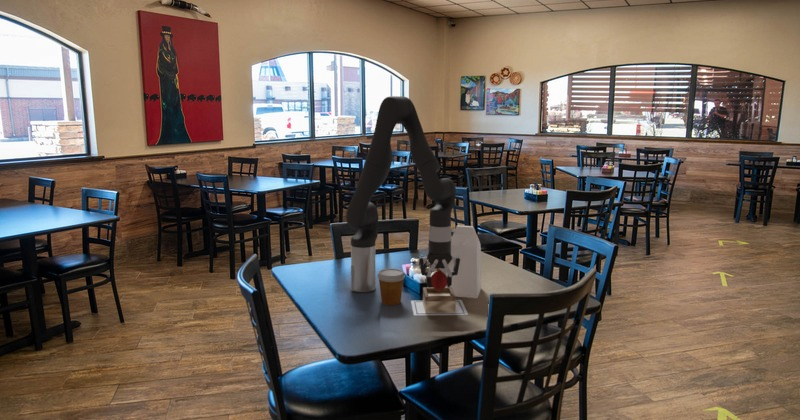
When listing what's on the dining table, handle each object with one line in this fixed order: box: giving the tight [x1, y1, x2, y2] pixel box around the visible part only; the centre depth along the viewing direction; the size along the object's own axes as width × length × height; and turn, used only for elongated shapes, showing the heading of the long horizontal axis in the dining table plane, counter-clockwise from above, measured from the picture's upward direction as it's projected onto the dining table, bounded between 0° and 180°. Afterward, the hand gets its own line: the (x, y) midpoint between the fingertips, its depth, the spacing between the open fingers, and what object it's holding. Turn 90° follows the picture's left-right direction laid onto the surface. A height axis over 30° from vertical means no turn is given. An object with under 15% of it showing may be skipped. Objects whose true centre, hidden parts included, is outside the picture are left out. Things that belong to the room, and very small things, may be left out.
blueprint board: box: [410, 299, 469, 316], centre depth 188 cm, size 18×14×1 cm
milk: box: [445, 224, 482, 299], centre depth 202 cm, size 12×12×26 cm
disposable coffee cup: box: [377, 268, 406, 306], centre depth 192 cm, size 10×10×12 cm
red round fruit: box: [431, 268, 448, 292], centre depth 186 cm, size 6×6×8 cm
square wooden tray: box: [422, 286, 457, 313], centre depth 187 cm, size 10×10×6 cm
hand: (438, 286), depth 187 cm, fingers closed on red round fruit, 6 cm apart
